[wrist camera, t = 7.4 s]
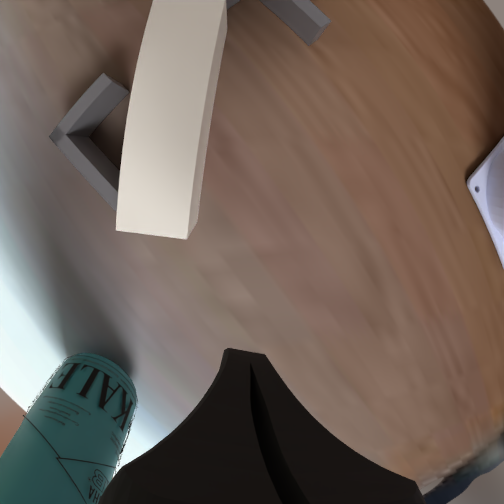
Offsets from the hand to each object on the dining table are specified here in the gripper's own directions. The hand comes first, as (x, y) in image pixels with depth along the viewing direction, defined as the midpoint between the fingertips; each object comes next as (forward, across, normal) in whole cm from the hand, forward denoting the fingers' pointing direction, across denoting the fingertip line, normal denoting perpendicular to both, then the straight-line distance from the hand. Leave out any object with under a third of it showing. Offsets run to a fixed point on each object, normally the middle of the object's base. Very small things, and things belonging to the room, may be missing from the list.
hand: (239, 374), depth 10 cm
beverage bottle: (+10, +8, +10) cm, 16 cm away
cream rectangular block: (+10, +5, -8) cm, 14 cm away
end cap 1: (+10, +8, -7) cm, 14 cm away
